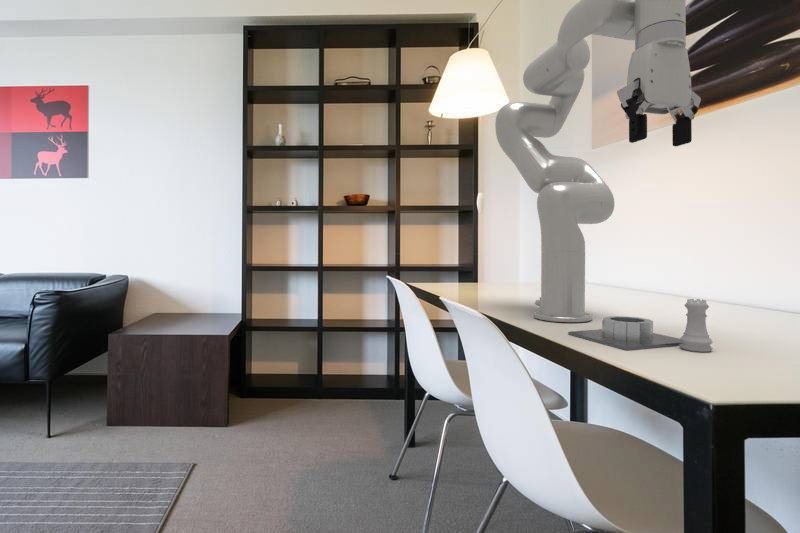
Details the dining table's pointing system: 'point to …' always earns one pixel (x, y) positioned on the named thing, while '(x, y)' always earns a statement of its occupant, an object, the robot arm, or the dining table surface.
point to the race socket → (627, 334)
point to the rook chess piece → (696, 327)
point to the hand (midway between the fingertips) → (660, 142)
